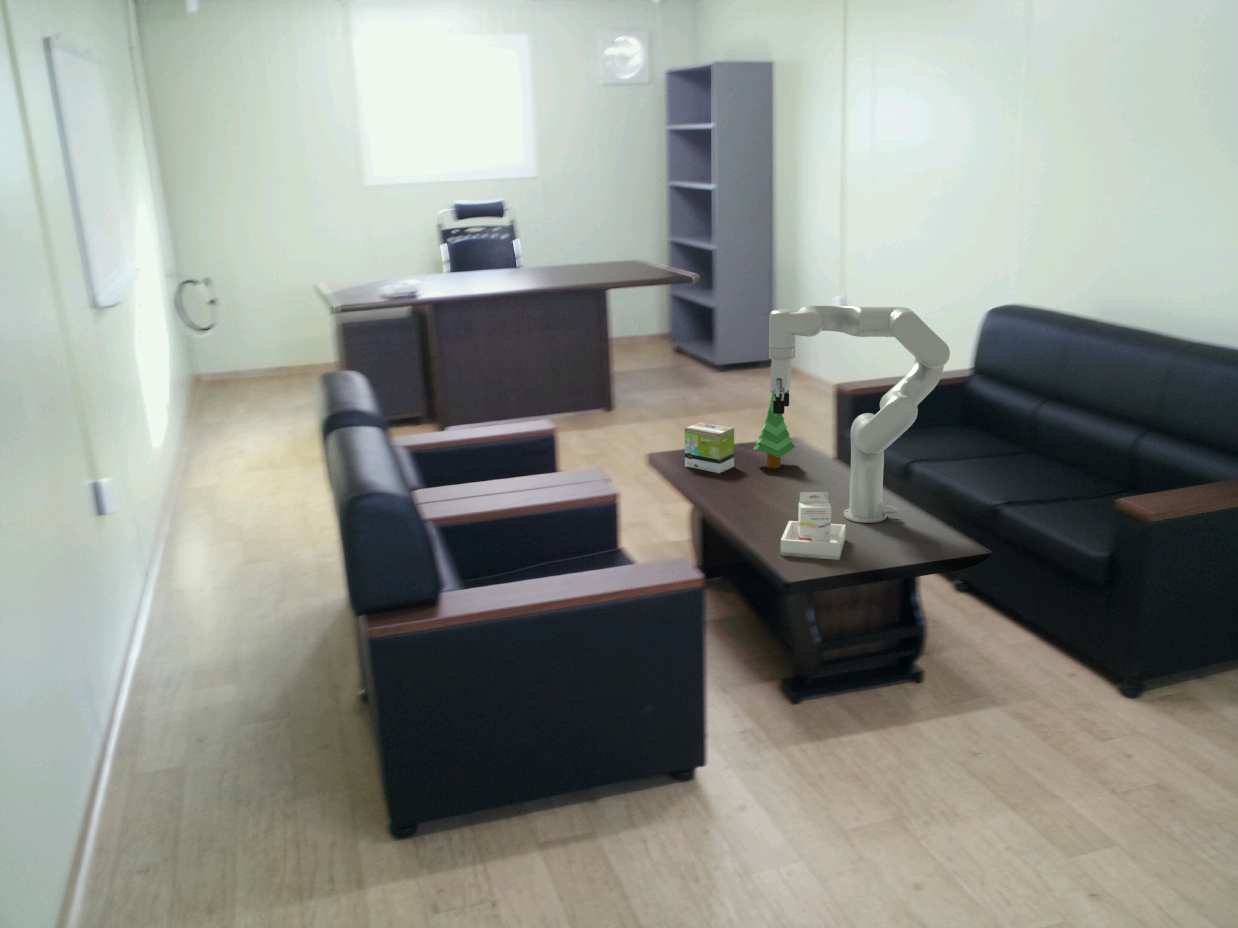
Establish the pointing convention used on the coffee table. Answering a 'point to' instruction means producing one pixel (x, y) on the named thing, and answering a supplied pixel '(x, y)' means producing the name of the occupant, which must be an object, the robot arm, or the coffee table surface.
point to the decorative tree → (774, 437)
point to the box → (813, 543)
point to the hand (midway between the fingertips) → (781, 409)
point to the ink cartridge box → (814, 517)
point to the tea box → (709, 447)
